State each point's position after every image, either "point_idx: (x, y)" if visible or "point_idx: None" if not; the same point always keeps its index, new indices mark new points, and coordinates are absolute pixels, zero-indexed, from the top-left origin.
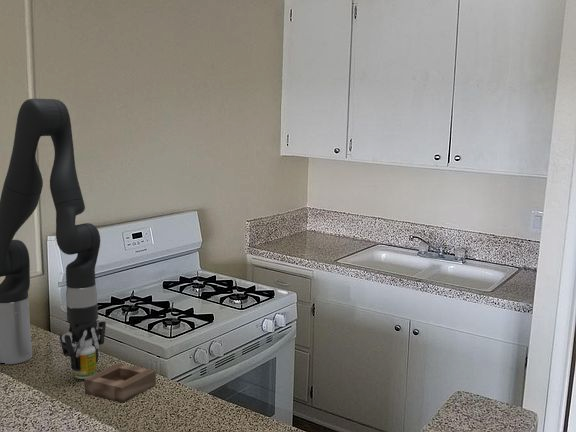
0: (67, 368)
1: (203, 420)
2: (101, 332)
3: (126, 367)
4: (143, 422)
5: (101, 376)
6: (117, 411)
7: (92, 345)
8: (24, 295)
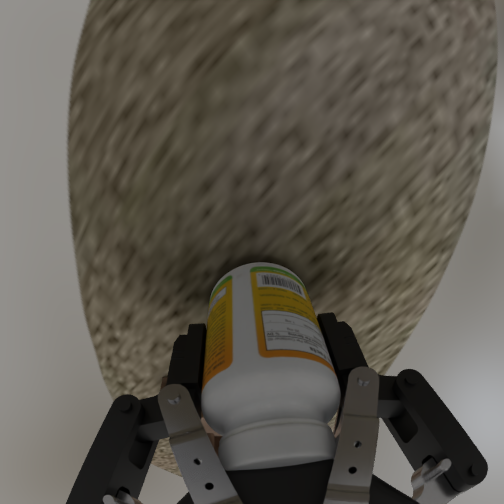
0: (302, 124)
1: None
2: (410, 460)
3: None
4: (172, 467)
5: (207, 432)
6: (164, 445)
7: (326, 423)
8: None
